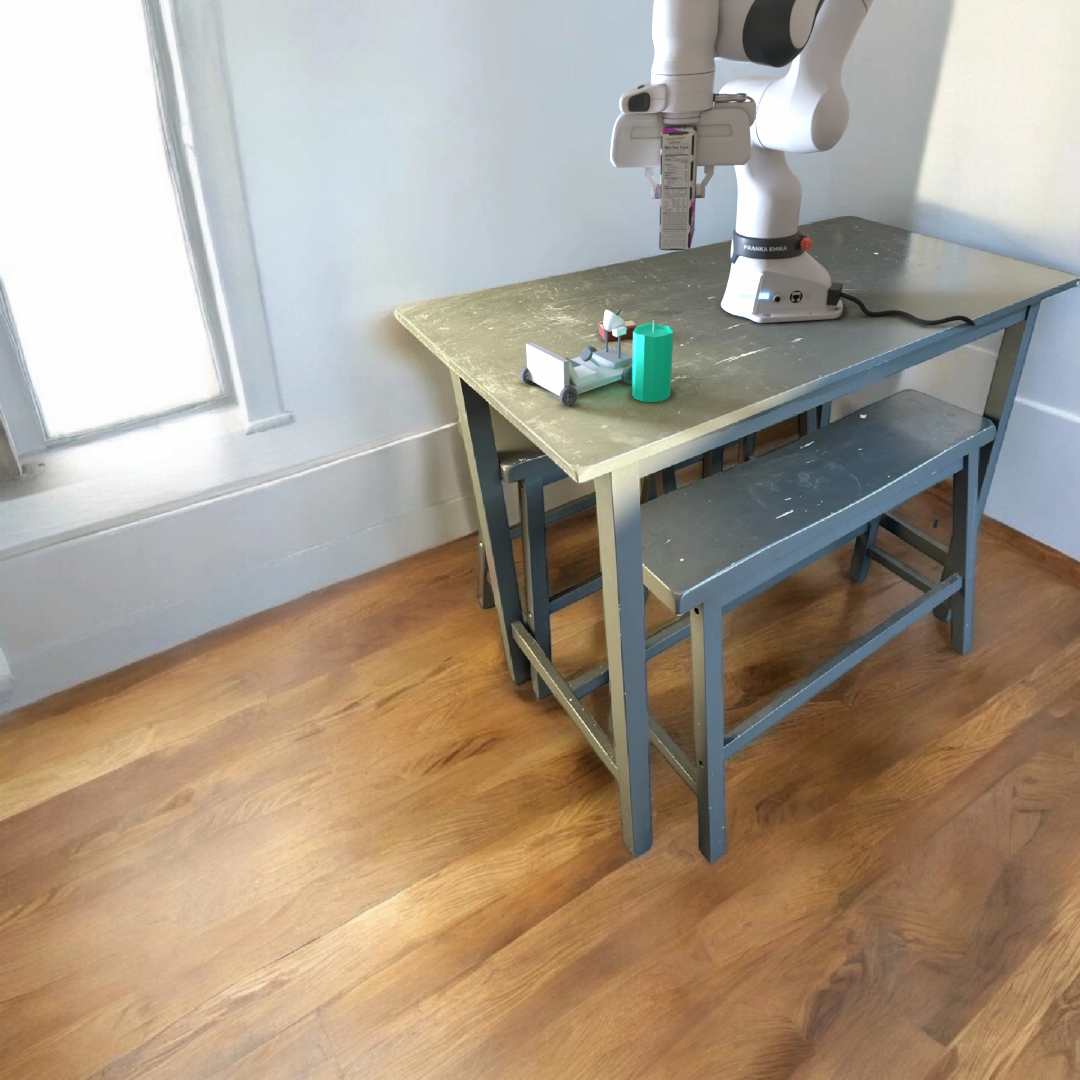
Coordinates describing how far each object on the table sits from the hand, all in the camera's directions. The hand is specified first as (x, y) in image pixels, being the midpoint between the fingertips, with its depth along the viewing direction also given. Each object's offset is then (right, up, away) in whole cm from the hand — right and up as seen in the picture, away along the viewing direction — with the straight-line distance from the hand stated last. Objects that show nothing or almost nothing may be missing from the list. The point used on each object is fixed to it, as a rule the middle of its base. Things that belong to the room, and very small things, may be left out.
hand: (677, 197), depth 128 cm
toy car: (-13, -26, +11) cm, 31 cm away
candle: (-3, -29, +6) cm, 30 cm away
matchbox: (-7, -14, +27) cm, 31 cm away
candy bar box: (0, -5, +4) cm, 7 cm away
